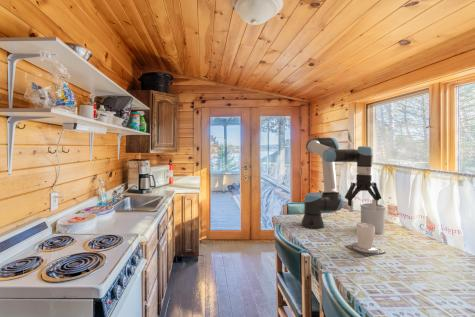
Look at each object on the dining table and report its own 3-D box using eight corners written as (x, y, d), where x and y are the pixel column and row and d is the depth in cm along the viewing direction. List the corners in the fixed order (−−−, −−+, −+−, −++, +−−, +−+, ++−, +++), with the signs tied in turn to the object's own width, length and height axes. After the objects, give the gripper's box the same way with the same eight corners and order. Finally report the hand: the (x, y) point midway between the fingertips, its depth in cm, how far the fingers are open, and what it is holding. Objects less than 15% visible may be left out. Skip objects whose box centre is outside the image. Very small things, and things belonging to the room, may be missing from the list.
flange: (345, 246, 139) (345, 243, 139) (363, 243, 144) (363, 240, 144) (365, 256, 126) (366, 253, 126) (385, 252, 130) (385, 250, 130)
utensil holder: (380, 235, 157) (380, 208, 156) (356, 229, 168) (356, 204, 167) (388, 230, 167) (388, 205, 166) (365, 225, 178) (365, 201, 177)
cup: (373, 245, 137) (374, 223, 136) (374, 251, 129) (375, 228, 128) (355, 242, 141) (356, 221, 140) (355, 248, 133) (356, 226, 132)
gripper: (346, 174, 132) (344, 213, 134) (389, 174, 135) (387, 212, 136) (339, 173, 140) (337, 209, 141) (380, 173, 142) (378, 209, 144)
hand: (362, 211), depth 139 cm, fingers open, 13 cm apart
